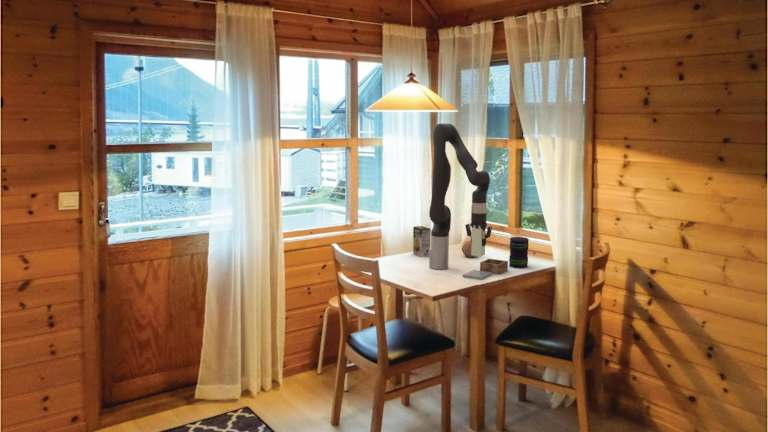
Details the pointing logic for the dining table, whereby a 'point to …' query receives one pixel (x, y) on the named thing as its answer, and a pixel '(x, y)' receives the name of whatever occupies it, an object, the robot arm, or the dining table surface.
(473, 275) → the blue-grey square panel
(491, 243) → the dining table surface
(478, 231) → the tea tin
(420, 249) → the coffee box
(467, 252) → the onion
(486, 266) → the crate
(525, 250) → the dark blue cylinder
